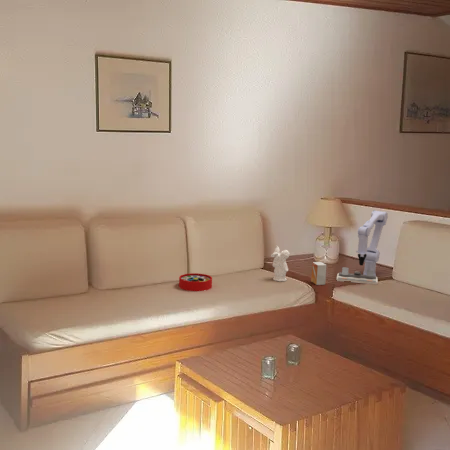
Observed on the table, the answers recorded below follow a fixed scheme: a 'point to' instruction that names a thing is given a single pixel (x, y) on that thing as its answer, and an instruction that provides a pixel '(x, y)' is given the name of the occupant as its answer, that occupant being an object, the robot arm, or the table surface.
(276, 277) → the cherub figurine
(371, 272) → the switch
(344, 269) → the switch
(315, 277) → the small box
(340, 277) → the switch panel
